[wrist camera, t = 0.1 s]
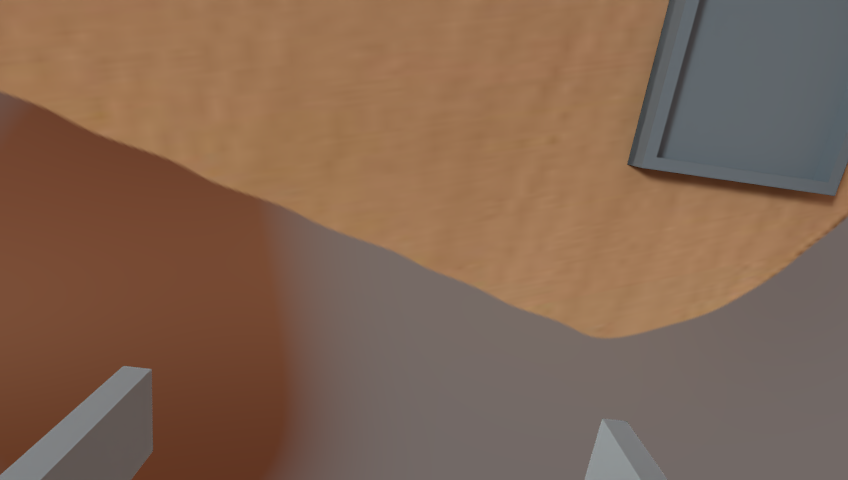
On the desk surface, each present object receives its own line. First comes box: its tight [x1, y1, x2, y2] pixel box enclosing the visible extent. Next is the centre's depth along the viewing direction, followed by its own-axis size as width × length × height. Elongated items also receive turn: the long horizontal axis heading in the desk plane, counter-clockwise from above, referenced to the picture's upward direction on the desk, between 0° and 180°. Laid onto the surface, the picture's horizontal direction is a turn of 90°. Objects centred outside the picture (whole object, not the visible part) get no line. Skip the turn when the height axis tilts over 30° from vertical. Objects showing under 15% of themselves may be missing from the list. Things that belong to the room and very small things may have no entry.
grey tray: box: [627, 0, 848, 196], centre depth 37 cm, size 17×17×2 cm
